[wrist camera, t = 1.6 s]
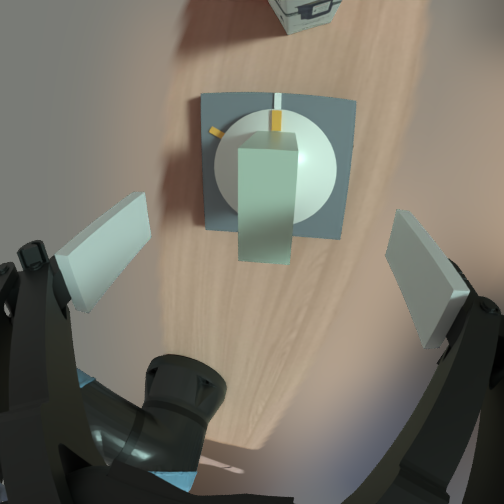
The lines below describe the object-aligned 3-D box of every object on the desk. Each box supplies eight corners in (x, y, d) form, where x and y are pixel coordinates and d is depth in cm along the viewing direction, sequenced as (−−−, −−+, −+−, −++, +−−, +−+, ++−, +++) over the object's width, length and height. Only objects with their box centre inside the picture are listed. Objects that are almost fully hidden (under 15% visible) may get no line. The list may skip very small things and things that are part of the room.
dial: (328, 226, 27) (344, 294, 18) (218, 218, 29) (183, 280, 19) (339, 114, 22) (373, 123, 13) (216, 108, 23) (168, 114, 14)
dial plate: (337, 231, 30) (340, 240, 28) (210, 222, 31) (205, 230, 29) (351, 101, 23) (356, 100, 21) (206, 93, 24) (200, 93, 22)
